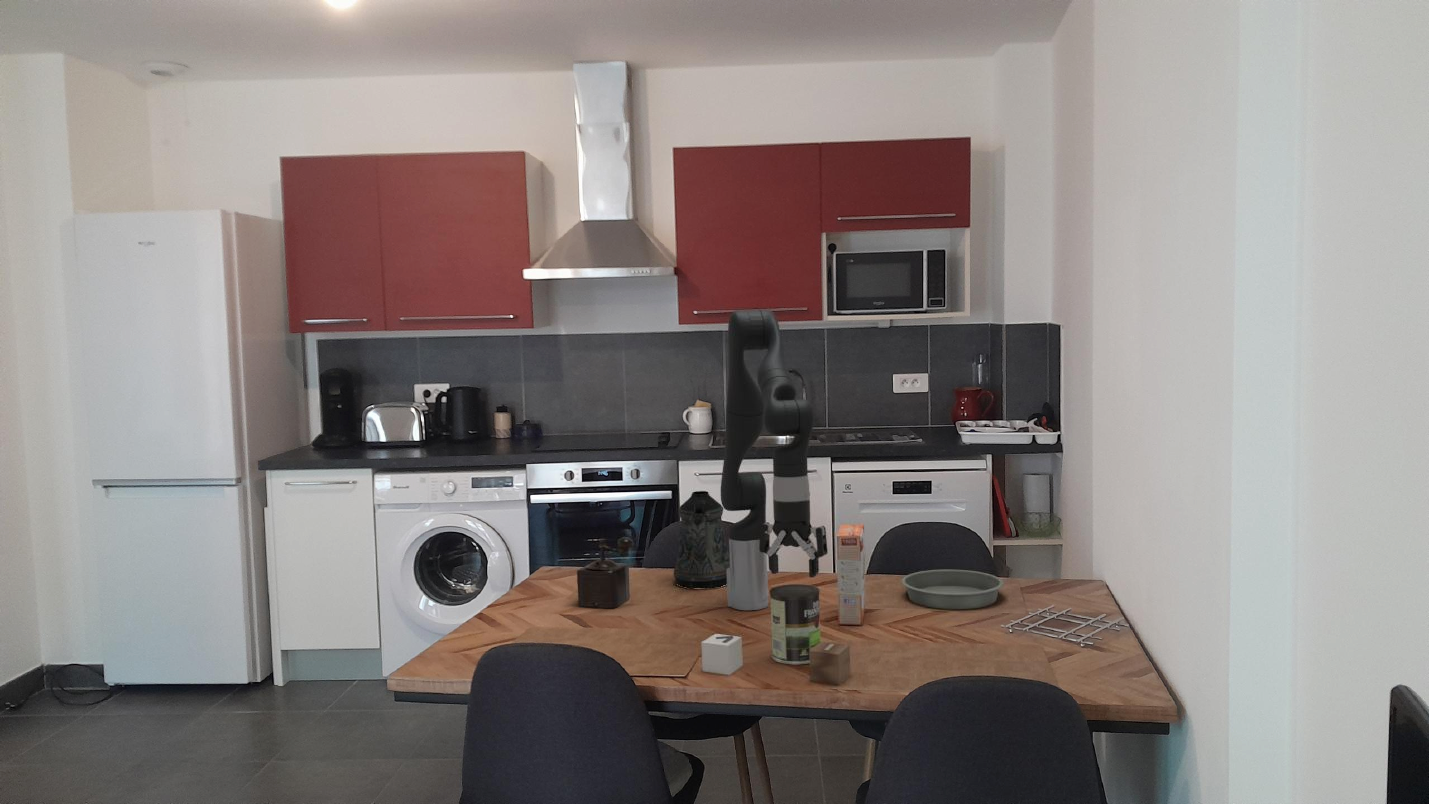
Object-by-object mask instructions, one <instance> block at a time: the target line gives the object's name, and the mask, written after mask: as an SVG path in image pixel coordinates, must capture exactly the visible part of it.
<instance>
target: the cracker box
mask: <svg viewBox="0 0 1429 804" xmlns="http://www.w3.org/2000/svg"><path fill="white" fill-rule="evenodd" d="M865 549H866V548H865V525H864V524H857V523H856V524H845V523H844V524H840V527H839V529H838V532H837V535H836V563H837V571H836V572H837V615H838V616H837V621H838V622H837V623H838V625H843V626H844V625H846V626H863V623H864V622H863V621H864V619H865V618H864V617H865V611H866V566H865V565H866V557H865V555H866V554H865Z"/></svg>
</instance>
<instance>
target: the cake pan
mask: <svg viewBox="0 0 1429 804" xmlns="http://www.w3.org/2000/svg"><path fill="white" fill-rule="evenodd" d="M901 583H902V585H903V586H904V587H905V588H906V592H907V595H908V598H909V600H910V601H911V602H913V603H915V604H917V605H920V606H924V607H928V608H935V609H943V610H970V609H977V608H979V609H980V608H984V607H987V606H990V605H992V604H994V603H995V602H996V601H997V598H998V594H999V589H1001V588H1002V587H1003V586H1004V581H1003V580H1002V579H1001V578H1000V577H998V576H996V575H994V574H989V573H985V572H982V571H976V570H968V569H966V570H965V569H931V570H921V571H917V572H913V573H910V574H907V575H905V576H904V577H902V579H901Z"/></svg>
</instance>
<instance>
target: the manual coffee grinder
mask: <svg viewBox="0 0 1429 804" xmlns="http://www.w3.org/2000/svg"><path fill="white" fill-rule="evenodd" d="M599 543H600V544H599V548H600V558H599V559H596V560H594V561H593V562H590V563H589V564H587V565H585V566H583V567H581V568H579V569H577V570H576V581H577V597H578V599H577V600H578V601H577V602H578V605H577V606H578V607H579V608H589V607H590V608H591V609H615V607H616V608H618V607H621V606H622V605H623V604H625V603H626V602H628V601H629V600H630V599H629V598H631V595H630V594H631V593H630V568H629V567H630V566H629V563H623V562H619V563H618V562H615V561H614V560H611V559H609V558H606V556H605V550H606V551H610V552H613V553H617V554H618V555H619V556H621V557H622V558H626V557H629V556H630V550H631V548H633V546H634V542H633V539H631V538H630V537H628V536H623V537H621V538H619V539H618V541H617V545H618V547H619V549H618V548H614V547H609V546H607V545H606V543H605V539H604V538H600V539H599ZM628 599H629V600H628ZM627 600H628V601H627ZM624 602H625V603H624ZM621 604H622V605H621Z"/></svg>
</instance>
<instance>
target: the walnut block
mask: <svg viewBox="0 0 1429 804" xmlns="http://www.w3.org/2000/svg"><path fill="white" fill-rule="evenodd" d="M848 675H850V676H851V652H850V645H849V644H845V643H844V644H842V643H834V642H826V641H820V643H818V644H817V645H816V646H815V647H813V648H812V649H811V650H809V680H810V681H809V682H817V683H821V684H822V683H823V684H828V683H832V684H831V685H835V684H840V683H841V682H842V683H844V681H845V680H847V679H848V678H847V676H848ZM846 678H847V679H846ZM844 679H845V680H844ZM843 680H844V681H843ZM842 683H841V684H842ZM841 684H840V685H841Z"/></svg>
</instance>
